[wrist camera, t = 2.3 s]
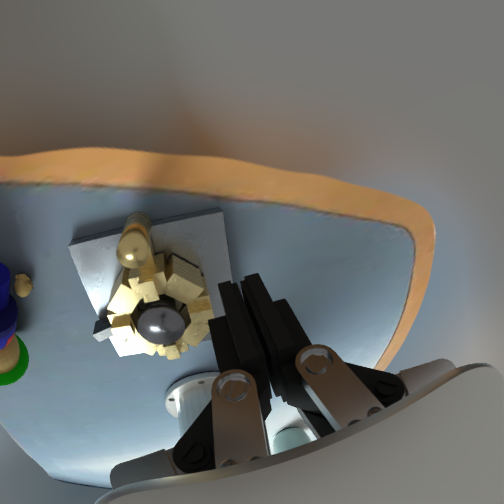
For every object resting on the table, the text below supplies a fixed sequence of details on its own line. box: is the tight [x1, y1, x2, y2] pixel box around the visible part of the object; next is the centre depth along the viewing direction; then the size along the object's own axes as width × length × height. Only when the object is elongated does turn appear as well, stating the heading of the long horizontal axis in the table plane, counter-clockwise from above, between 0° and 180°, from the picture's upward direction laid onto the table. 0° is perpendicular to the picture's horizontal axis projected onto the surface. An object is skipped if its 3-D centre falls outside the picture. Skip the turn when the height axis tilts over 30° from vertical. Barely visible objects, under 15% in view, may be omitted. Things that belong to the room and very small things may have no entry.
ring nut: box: [107, 212, 214, 360], centre depth 22 cm, size 13×9×5 cm
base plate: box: [68, 207, 233, 356], centre depth 24 cm, size 14×15×6 cm
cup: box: [273, 428, 312, 454], centre depth 46 cm, size 8×8×10 cm
